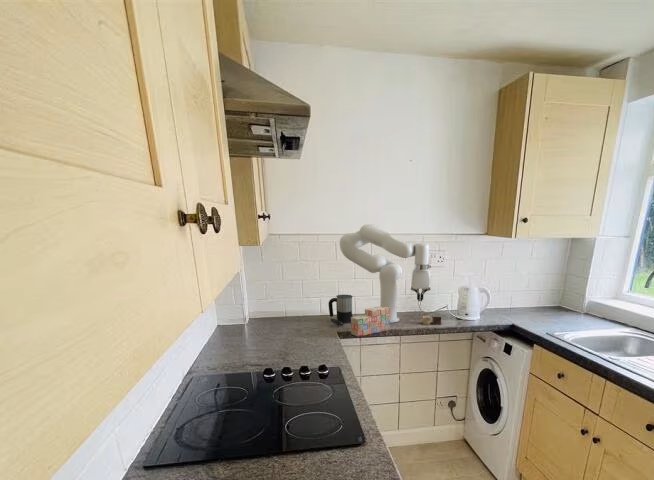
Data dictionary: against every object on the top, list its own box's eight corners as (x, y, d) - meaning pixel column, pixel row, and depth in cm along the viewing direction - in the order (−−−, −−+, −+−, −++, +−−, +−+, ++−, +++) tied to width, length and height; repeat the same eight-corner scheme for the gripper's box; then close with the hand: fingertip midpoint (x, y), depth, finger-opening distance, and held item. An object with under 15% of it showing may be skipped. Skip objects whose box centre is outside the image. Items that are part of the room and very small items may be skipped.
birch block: (422, 324, 233) (423, 317, 231) (422, 322, 236) (422, 315, 235) (429, 324, 233) (430, 317, 231) (429, 322, 236) (429, 315, 235)
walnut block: (433, 324, 232) (433, 316, 231) (432, 322, 237) (432, 315, 235) (440, 324, 233) (441, 316, 231) (439, 322, 237) (440, 315, 235)
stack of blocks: (358, 337, 209) (357, 313, 204) (351, 334, 214) (350, 311, 209) (389, 330, 222) (390, 307, 217) (382, 327, 226) (382, 305, 221)
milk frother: (351, 318, 244) (350, 293, 238) (356, 325, 230) (356, 299, 224) (327, 320, 240) (326, 295, 234) (331, 327, 226) (330, 300, 220)
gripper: (434, 266, 226) (432, 299, 233) (407, 266, 225) (406, 299, 233) (436, 268, 219) (434, 302, 226) (407, 268, 218) (406, 302, 226)
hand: (420, 300), depth 229 cm, fingers closed
